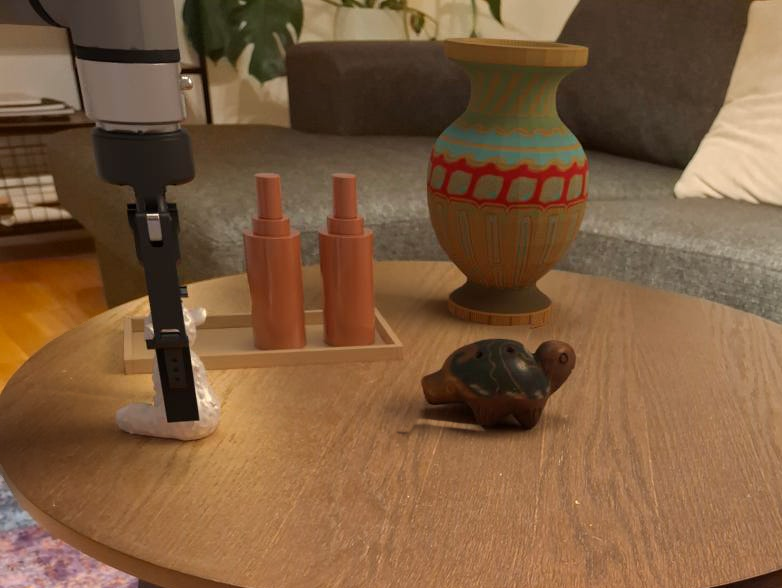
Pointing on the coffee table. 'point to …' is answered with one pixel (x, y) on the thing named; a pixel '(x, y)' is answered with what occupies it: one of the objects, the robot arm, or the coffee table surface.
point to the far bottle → (346, 270)
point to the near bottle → (274, 271)
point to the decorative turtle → (501, 379)
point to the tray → (236, 347)
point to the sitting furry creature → (154, 417)
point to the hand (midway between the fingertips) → (180, 394)
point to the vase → (508, 179)
